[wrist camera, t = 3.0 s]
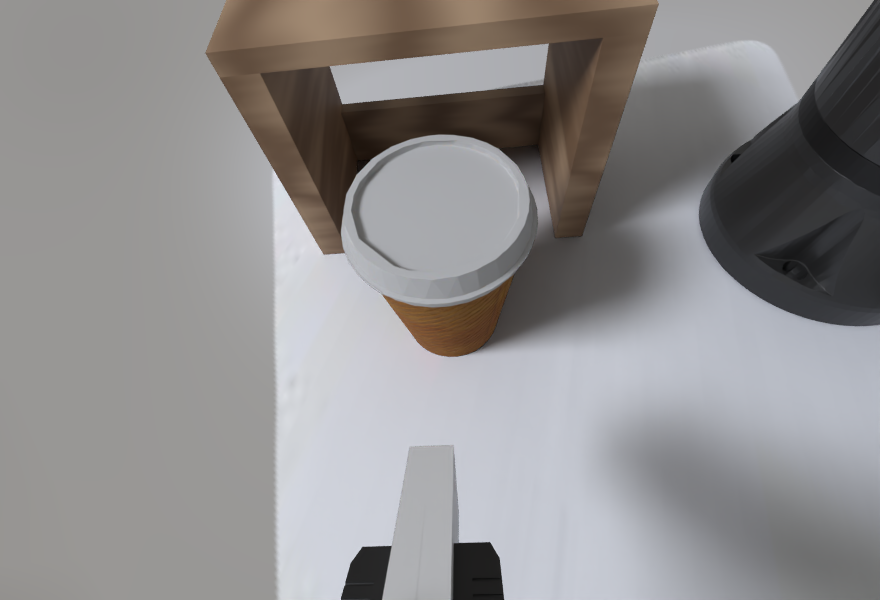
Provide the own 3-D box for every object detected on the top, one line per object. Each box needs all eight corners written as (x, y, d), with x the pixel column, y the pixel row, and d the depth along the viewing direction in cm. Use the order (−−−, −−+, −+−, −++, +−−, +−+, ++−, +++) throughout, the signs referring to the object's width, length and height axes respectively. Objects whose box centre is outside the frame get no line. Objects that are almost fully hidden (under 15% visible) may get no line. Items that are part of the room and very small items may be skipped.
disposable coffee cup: (372, 280, 32) (318, 159, 21) (492, 243, 33) (496, 107, 22) (404, 399, 27) (355, 319, 17) (543, 354, 28) (578, 249, 18)
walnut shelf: (559, 134, 37) (605, -107, 23) (581, 236, 32) (658, 3, 18) (336, 154, 39) (251, -62, 25) (323, 254, 34) (205, 52, 19)
